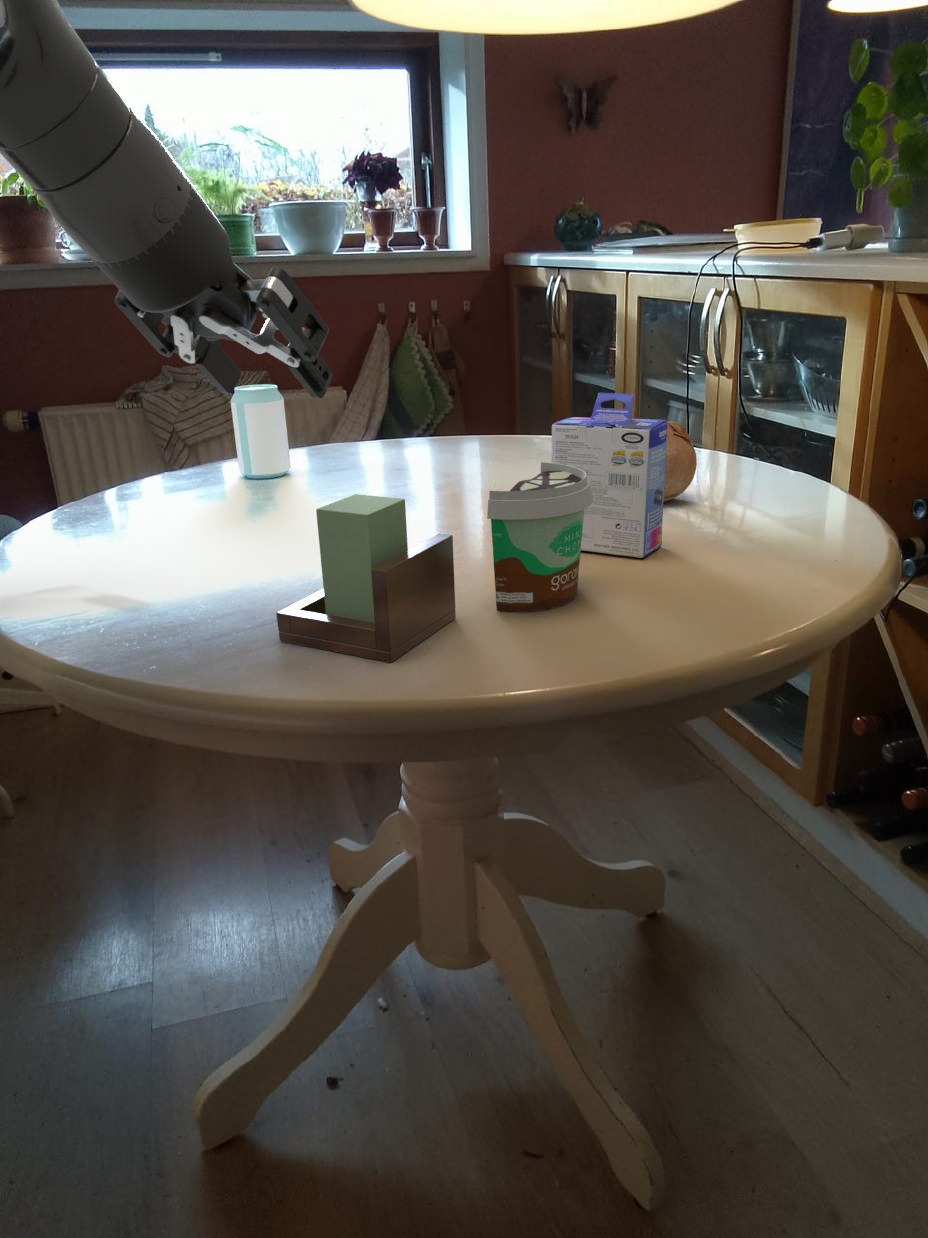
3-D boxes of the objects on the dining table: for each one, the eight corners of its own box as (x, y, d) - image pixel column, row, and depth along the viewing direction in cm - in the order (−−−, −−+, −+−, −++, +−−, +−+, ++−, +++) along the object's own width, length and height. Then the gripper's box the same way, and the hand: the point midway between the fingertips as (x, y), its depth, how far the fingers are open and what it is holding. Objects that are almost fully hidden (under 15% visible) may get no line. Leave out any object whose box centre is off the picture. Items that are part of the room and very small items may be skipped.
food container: (563, 626, 68) (564, 498, 64) (489, 616, 70) (486, 492, 67) (609, 577, 78) (612, 464, 75) (543, 570, 81) (543, 460, 77)
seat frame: (279, 641, 67) (269, 554, 65) (351, 601, 75) (345, 522, 72) (391, 663, 63) (385, 571, 60) (456, 618, 70) (452, 535, 68)
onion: (680, 521, 106) (724, 445, 103) (652, 518, 98) (698, 435, 95) (617, 484, 110) (656, 409, 107) (584, 478, 102) (626, 397, 99)
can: (264, 467, 129) (254, 382, 125) (301, 471, 126) (292, 384, 121) (229, 477, 124) (217, 388, 119) (266, 481, 120) (256, 390, 116)
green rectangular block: (326, 625, 67) (315, 509, 64) (363, 604, 71) (355, 493, 68) (376, 634, 65) (367, 514, 62) (411, 611, 69) (405, 498, 66)
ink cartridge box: (664, 545, 87) (672, 393, 82) (646, 560, 83) (653, 401, 77) (570, 534, 92) (572, 389, 86) (548, 548, 87) (548, 397, 82)
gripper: (251, 155, 51) (374, 348, 64) (79, 172, 57) (224, 344, 71) (196, 256, 48) (336, 434, 62) (23, 262, 55) (185, 422, 68)
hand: (277, 386), depth 66 cm, fingers open, 8 cm apart
